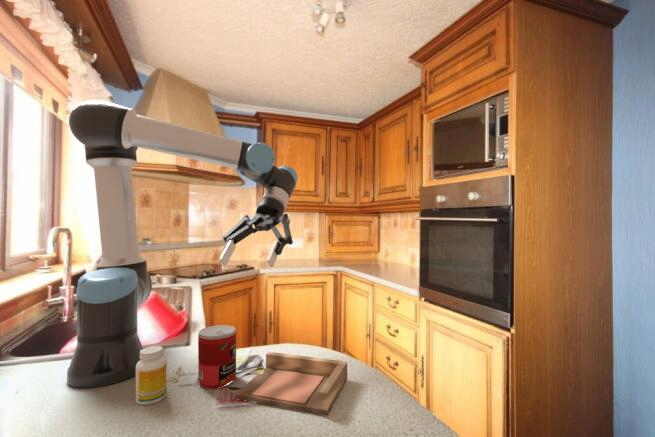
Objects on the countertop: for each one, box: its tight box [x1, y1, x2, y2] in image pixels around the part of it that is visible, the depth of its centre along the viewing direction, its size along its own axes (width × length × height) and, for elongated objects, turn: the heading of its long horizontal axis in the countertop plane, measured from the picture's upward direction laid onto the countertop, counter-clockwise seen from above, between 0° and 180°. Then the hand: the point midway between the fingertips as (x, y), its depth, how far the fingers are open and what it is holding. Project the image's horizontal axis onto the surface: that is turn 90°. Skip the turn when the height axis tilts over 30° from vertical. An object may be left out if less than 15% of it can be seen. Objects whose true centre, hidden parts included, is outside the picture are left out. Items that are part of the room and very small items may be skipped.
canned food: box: [197, 324, 237, 390], centre depth 72 cm, size 8×8×11 cm
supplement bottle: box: [134, 345, 167, 406], centre depth 65 cm, size 5×5×10 cm
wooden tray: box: [234, 351, 348, 417], centre depth 68 cm, size 19×14×4 cm
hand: (245, 263), depth 82 cm, fingers open, 13 cm apart
